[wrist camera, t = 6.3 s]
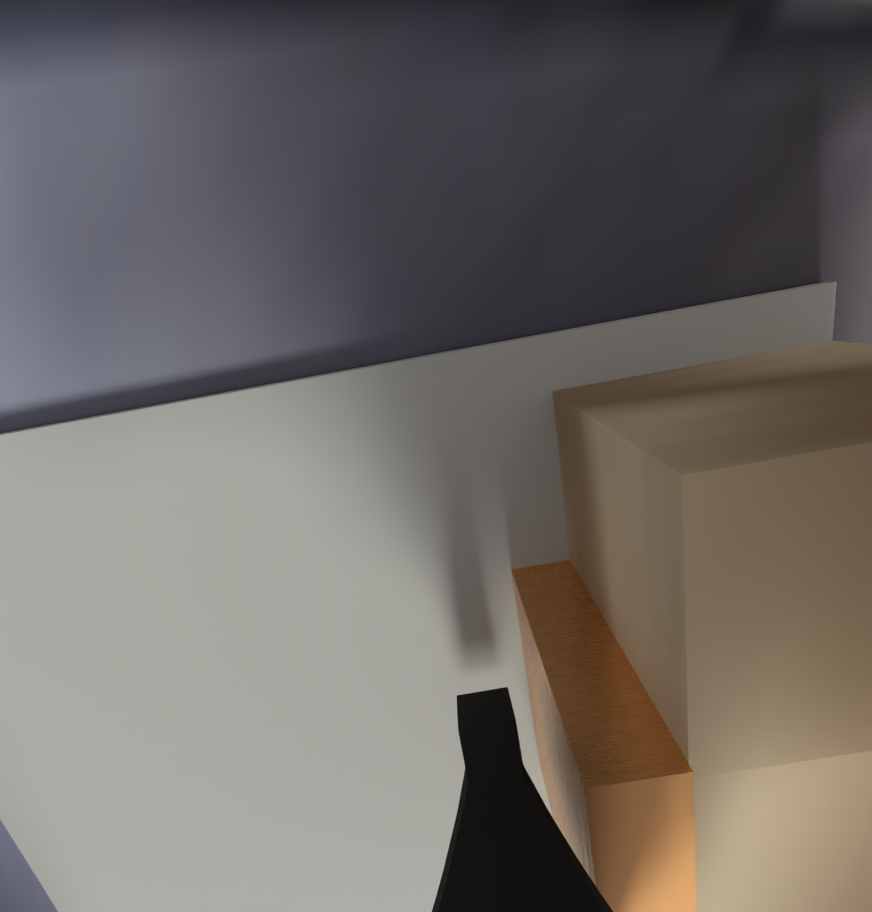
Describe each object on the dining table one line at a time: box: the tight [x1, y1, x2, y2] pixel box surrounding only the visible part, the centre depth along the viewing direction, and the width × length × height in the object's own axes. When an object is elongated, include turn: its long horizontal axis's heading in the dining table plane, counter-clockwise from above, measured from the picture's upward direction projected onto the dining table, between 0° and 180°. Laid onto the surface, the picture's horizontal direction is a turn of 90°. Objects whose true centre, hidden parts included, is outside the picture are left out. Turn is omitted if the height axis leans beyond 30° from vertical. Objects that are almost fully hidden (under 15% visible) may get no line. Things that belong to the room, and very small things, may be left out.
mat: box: [0, 281, 837, 912], centre depth 11 cm, size 19×15×1 cm
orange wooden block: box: [511, 560, 696, 912], centre depth 8 cm, size 9×5×5 cm, turn 100°
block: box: [552, 341, 872, 912], centre depth 8 cm, size 5×12×4 cm, turn 10°
